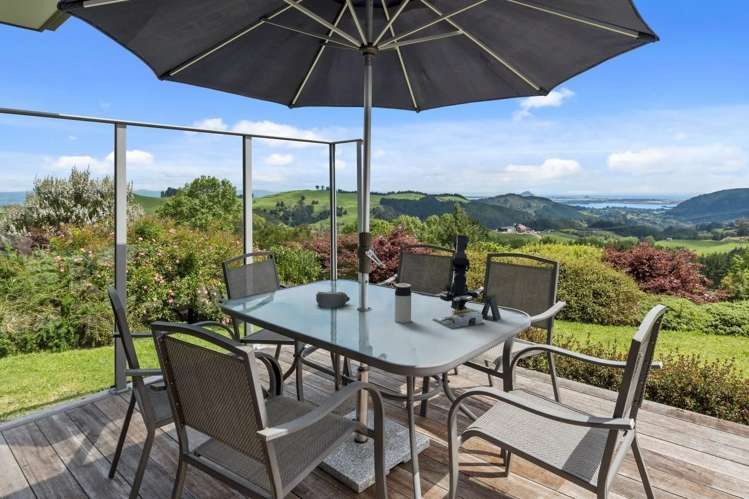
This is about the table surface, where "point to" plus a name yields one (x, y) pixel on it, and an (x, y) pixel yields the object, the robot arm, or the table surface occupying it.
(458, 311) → the plate
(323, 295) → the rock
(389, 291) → the table surface
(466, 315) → the frame
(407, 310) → the travel mug
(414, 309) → the table surface
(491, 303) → the phone stand
